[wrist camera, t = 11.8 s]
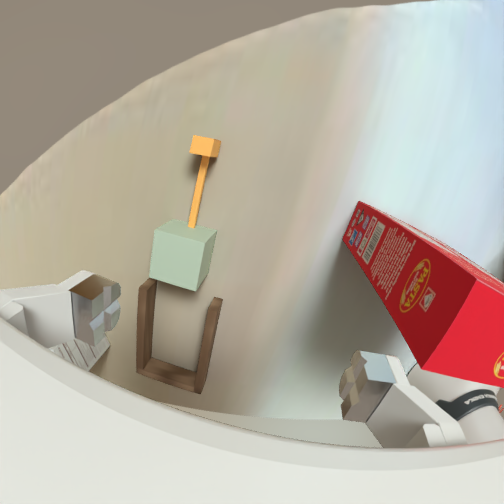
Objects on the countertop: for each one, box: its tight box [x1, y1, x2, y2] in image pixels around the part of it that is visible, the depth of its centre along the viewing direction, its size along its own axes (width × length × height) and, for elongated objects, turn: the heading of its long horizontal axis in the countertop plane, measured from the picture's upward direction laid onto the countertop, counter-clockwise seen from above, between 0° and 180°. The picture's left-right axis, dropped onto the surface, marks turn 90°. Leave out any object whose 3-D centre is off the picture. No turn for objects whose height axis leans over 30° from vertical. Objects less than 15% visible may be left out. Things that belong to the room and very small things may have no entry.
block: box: [149, 135, 221, 291], centre depth 34 cm, size 6×17×6 cm, turn 166°
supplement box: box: [48, 335, 110, 371], centre depth 39 cm, size 7×7×13 cm
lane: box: [136, 278, 223, 394], centre depth 41 cm, size 11×16×4 cm
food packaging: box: [343, 201, 504, 388], centre depth 23 cm, size 15×5×25 cm, turn 70°
